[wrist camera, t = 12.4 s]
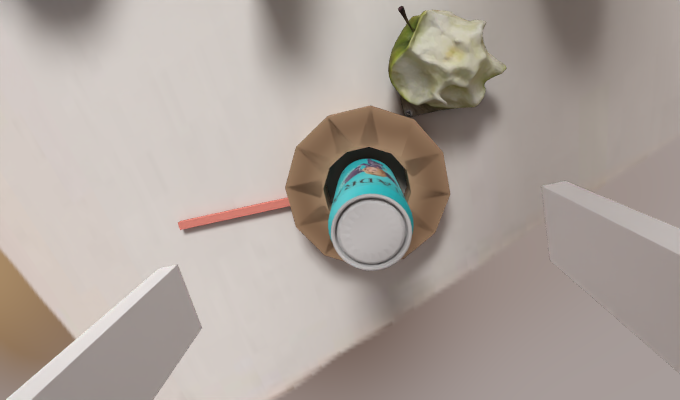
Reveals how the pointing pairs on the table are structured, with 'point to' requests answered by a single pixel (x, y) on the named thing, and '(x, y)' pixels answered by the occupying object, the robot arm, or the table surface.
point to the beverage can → (370, 216)
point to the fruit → (440, 63)
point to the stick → (234, 213)
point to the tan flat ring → (355, 133)
